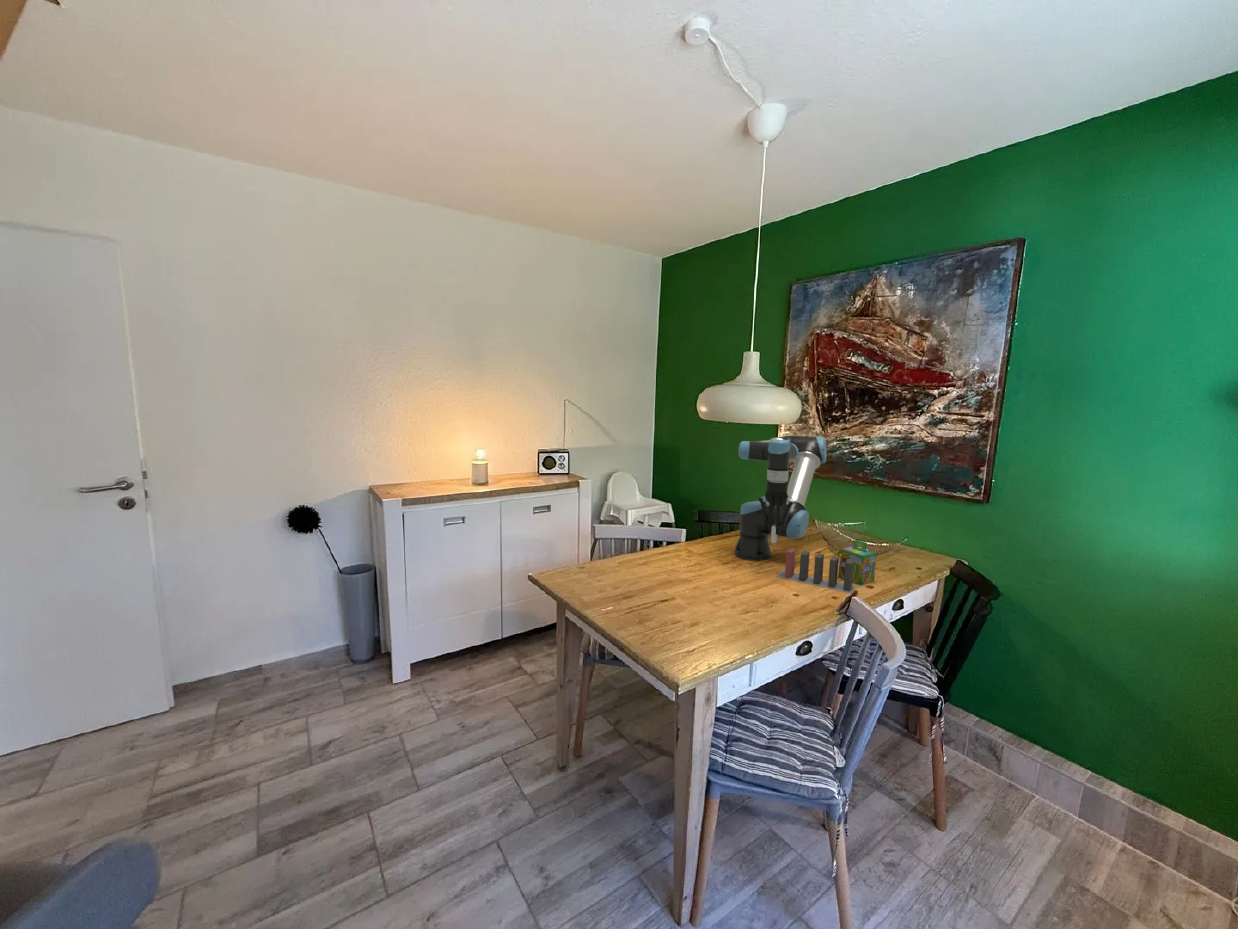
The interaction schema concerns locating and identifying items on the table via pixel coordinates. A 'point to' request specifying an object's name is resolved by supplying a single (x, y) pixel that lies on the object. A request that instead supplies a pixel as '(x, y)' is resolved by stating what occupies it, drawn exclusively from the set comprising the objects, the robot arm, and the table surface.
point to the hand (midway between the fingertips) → (773, 542)
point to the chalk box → (859, 563)
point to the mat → (810, 581)
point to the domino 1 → (790, 563)
